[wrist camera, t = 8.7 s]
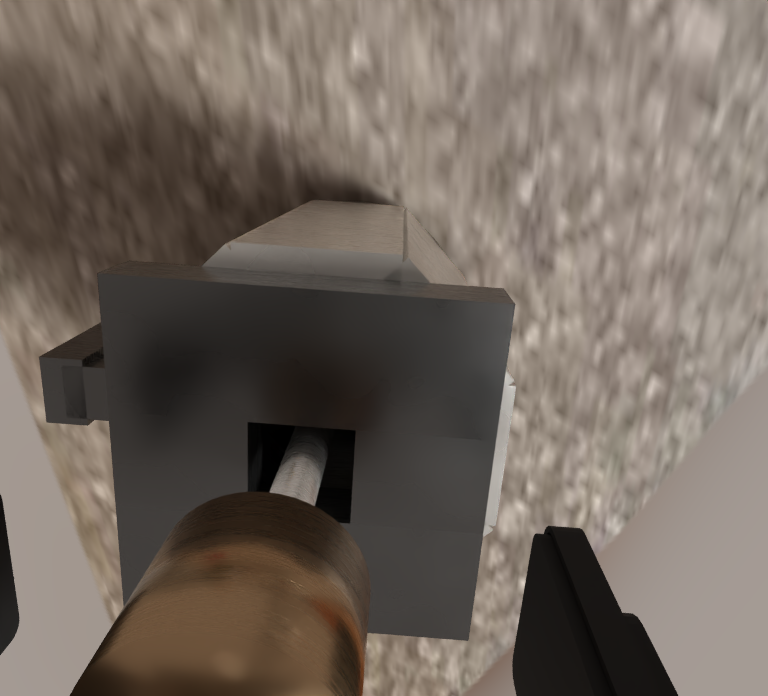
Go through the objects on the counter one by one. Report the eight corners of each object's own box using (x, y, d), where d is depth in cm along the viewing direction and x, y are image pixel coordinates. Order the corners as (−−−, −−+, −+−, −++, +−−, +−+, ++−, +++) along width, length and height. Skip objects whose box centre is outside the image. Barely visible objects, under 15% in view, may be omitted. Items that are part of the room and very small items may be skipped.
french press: (470, 209, 27) (549, 277, 12) (447, 410, 30) (489, 661, 15) (184, 188, 27) (-82, 230, 12) (191, 391, 30) (-15, 621, 15)
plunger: (433, 251, 25) (517, 544, 6) (419, 399, 27) (453, 951, 8) (273, 240, 25) (-111, 494, 6) (272, 388, 27) (-22, 910, 8)
